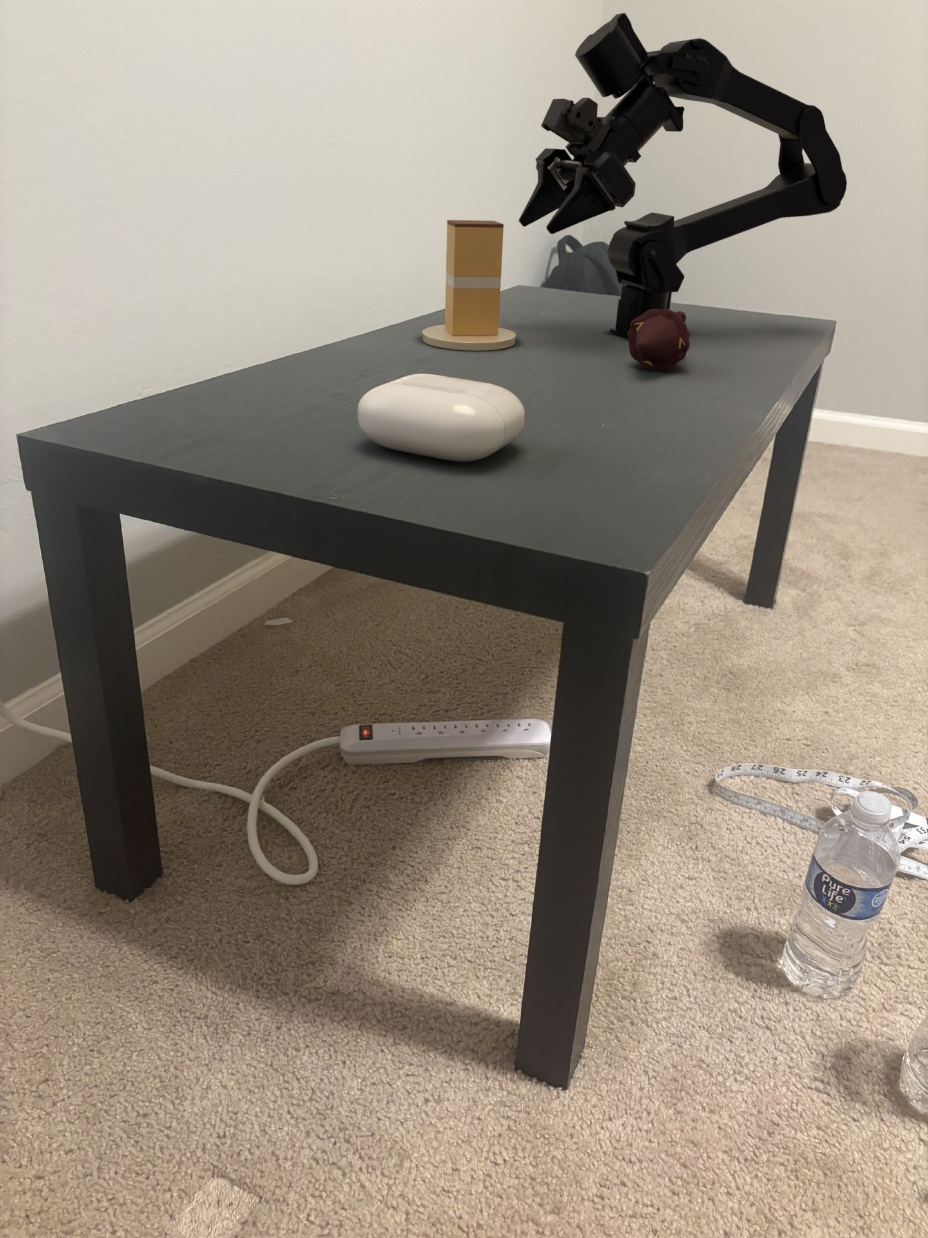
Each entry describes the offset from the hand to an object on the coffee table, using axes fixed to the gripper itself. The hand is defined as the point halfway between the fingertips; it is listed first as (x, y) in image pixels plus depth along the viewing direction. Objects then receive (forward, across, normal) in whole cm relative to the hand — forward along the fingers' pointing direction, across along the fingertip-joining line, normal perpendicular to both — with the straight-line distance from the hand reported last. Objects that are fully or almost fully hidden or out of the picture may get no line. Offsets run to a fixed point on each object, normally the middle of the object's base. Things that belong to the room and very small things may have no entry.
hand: (534, 227), depth 112 cm
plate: (+15, 0, +4) cm, 16 cm away
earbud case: (+27, +42, -7) cm, 51 cm away
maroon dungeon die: (+3, +18, +16) cm, 25 cm away
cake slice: (+14, 0, +4) cm, 15 cm away
